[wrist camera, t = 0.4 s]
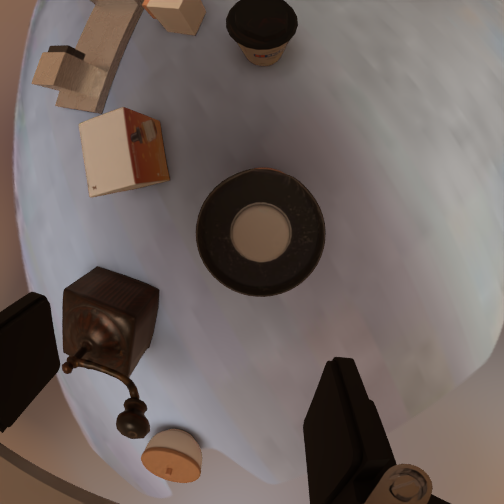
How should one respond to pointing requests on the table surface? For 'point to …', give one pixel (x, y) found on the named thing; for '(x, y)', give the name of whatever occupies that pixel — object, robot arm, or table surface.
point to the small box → (122, 152)
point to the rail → (90, 57)
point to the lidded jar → (173, 456)
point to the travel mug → (260, 232)
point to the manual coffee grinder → (111, 334)
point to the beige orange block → (177, 14)
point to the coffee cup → (262, 28)
